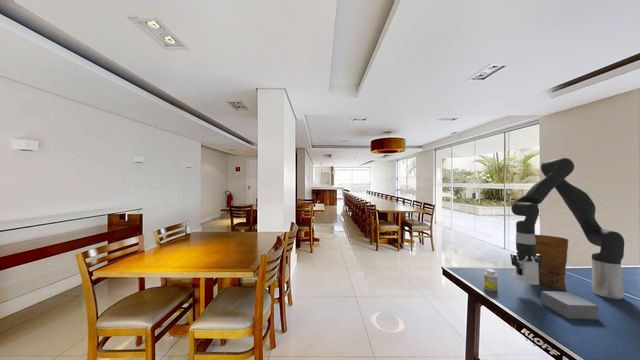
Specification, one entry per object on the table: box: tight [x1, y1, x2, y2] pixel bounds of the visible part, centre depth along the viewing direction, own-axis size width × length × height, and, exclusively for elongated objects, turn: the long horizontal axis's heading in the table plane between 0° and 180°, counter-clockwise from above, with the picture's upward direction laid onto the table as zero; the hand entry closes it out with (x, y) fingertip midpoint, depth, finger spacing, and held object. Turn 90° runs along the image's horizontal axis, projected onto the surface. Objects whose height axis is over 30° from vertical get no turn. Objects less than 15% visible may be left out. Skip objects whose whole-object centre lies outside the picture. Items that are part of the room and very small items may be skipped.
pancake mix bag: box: [534, 233, 569, 291], centre depth 126 cm, size 7×19×28 cm, turn 27°
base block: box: [540, 290, 599, 320], centre depth 99 cm, size 12×12×6 cm
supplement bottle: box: [483, 268, 498, 292], centre depth 119 cm, size 6×6×10 cm
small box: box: [514, 260, 540, 286], centre depth 113 cm, size 8×6×10 cm
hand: (526, 274), depth 113 cm, fingers closed on small box, 6 cm apart
